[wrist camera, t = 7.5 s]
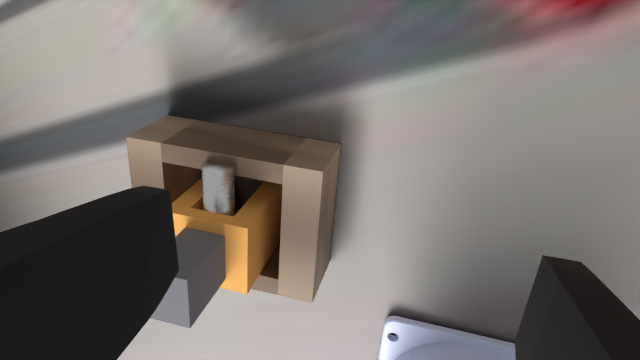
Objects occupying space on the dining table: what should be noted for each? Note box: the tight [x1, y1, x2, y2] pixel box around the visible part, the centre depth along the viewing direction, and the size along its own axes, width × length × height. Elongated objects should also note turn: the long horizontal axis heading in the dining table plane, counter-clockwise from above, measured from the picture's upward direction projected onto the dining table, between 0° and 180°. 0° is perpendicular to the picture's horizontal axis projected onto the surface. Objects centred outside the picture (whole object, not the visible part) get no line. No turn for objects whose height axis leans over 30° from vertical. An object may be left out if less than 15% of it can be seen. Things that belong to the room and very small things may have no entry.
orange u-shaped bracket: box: [150, 178, 281, 328], centre depth 18 cm, size 3×3×7 cm
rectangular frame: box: [126, 115, 341, 303], centre depth 20 cm, size 6×8×4 cm
